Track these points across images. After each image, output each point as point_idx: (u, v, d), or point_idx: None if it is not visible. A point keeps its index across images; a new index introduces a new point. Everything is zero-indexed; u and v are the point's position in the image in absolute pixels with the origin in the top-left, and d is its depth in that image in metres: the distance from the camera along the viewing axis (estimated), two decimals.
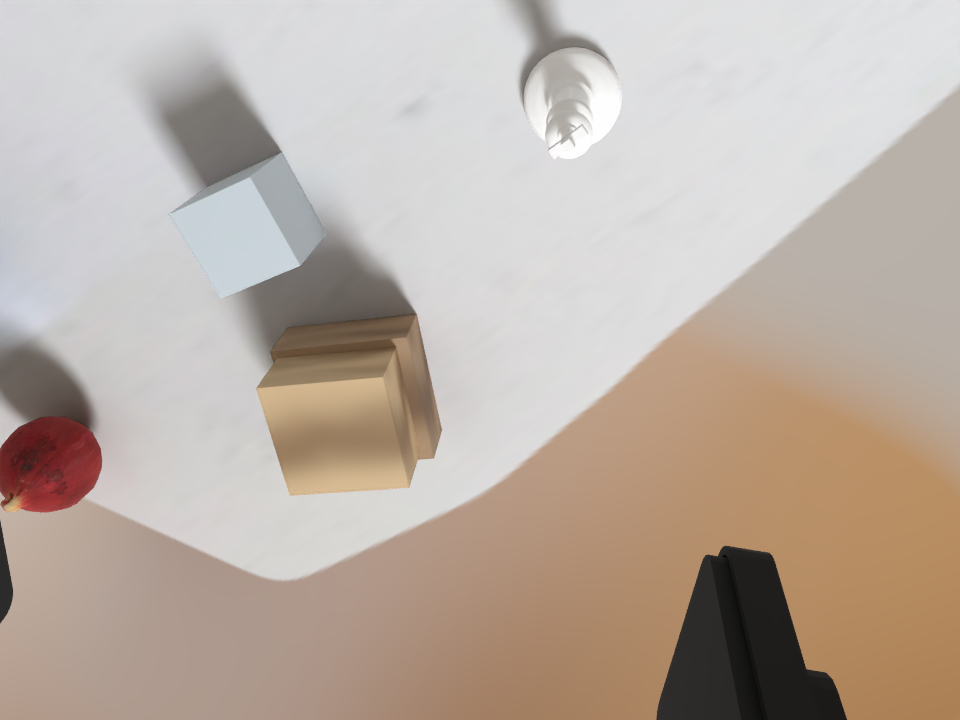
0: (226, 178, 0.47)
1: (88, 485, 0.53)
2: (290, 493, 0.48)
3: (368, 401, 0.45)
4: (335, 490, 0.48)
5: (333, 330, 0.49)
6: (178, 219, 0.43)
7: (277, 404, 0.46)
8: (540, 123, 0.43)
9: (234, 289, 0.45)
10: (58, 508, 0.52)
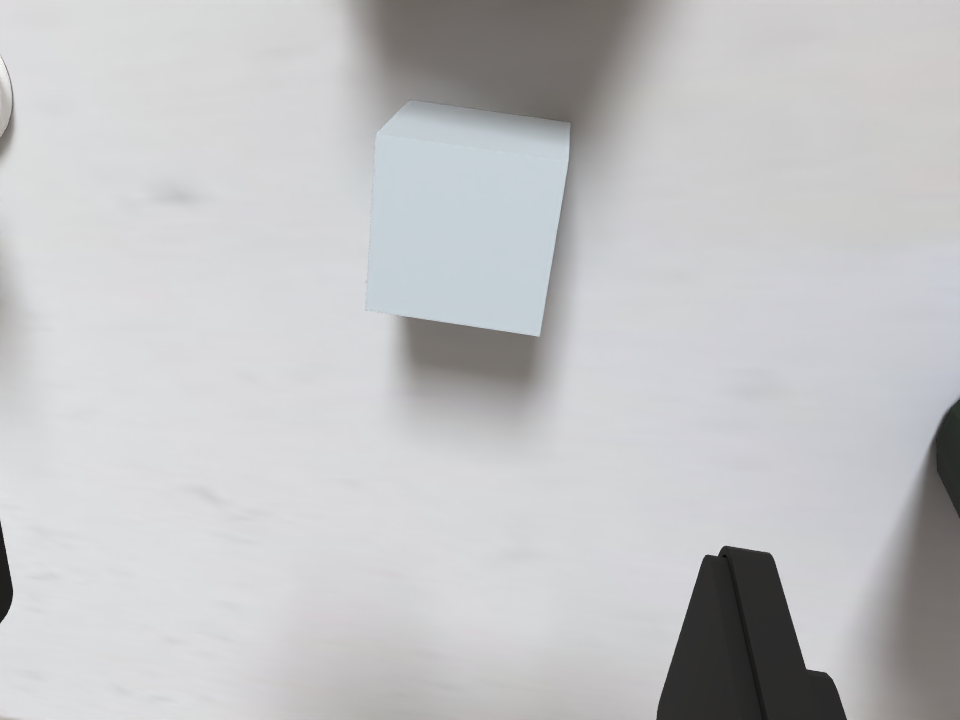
0: None
1: None
2: None
3: None
4: None
5: None
6: (529, 321, 0.24)
7: None
8: None
9: (528, 162, 0.22)
10: None
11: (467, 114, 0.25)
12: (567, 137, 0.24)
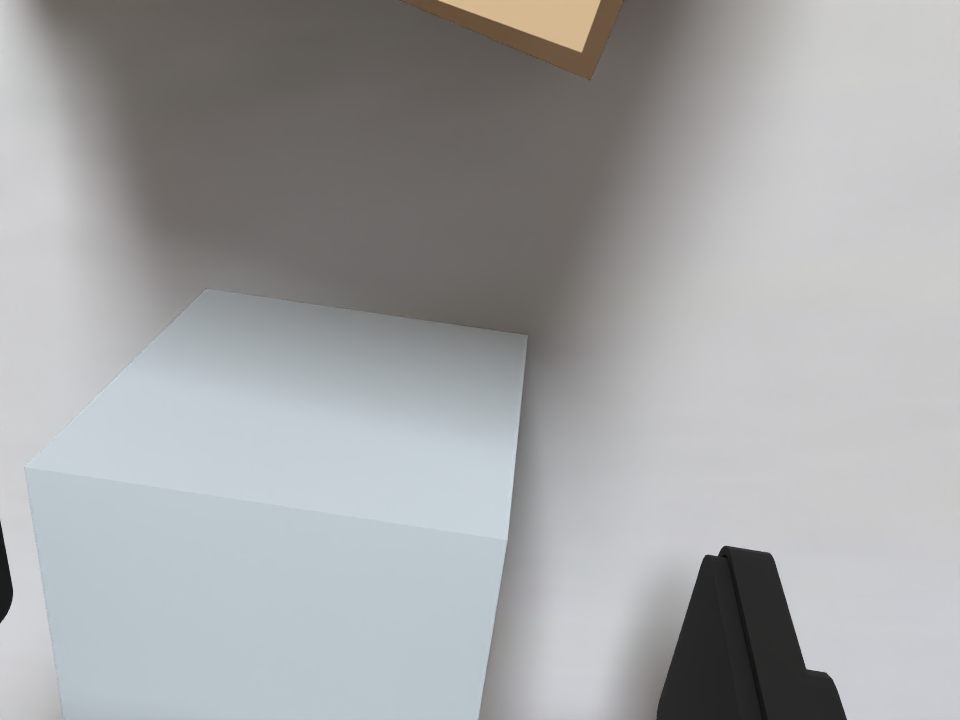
0: None
1: None
2: None
3: None
4: None
5: None
6: None
7: None
8: None
9: (407, 539, 0.09)
10: None
11: (312, 332, 0.12)
12: (516, 404, 0.11)
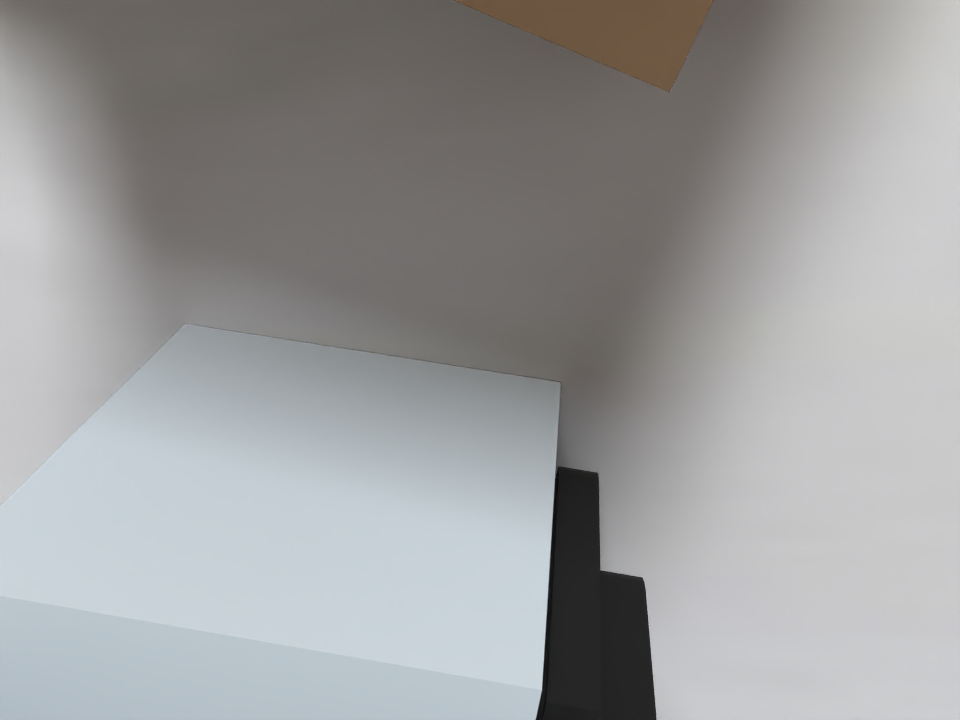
0: None
1: None
2: None
3: None
4: None
5: None
6: None
7: None
8: None
9: (411, 684, 0.07)
10: None
11: (304, 383, 0.10)
12: (548, 481, 0.09)
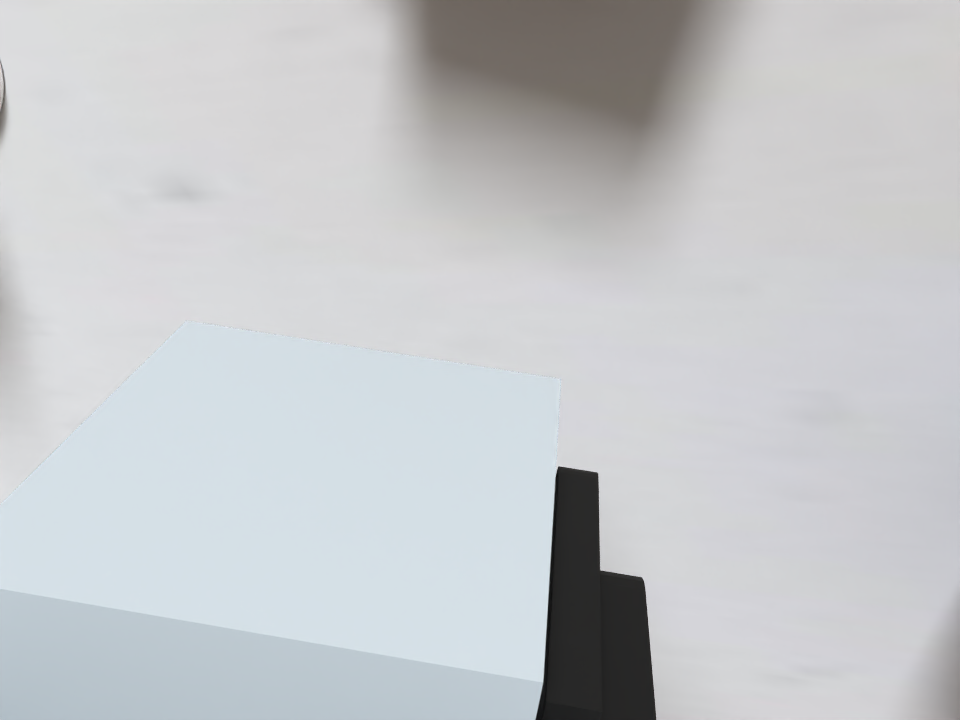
0: None
1: None
2: None
3: None
4: None
5: None
6: None
7: None
8: None
9: (413, 677, 0.07)
10: None
11: (305, 379, 0.10)
12: (549, 476, 0.09)
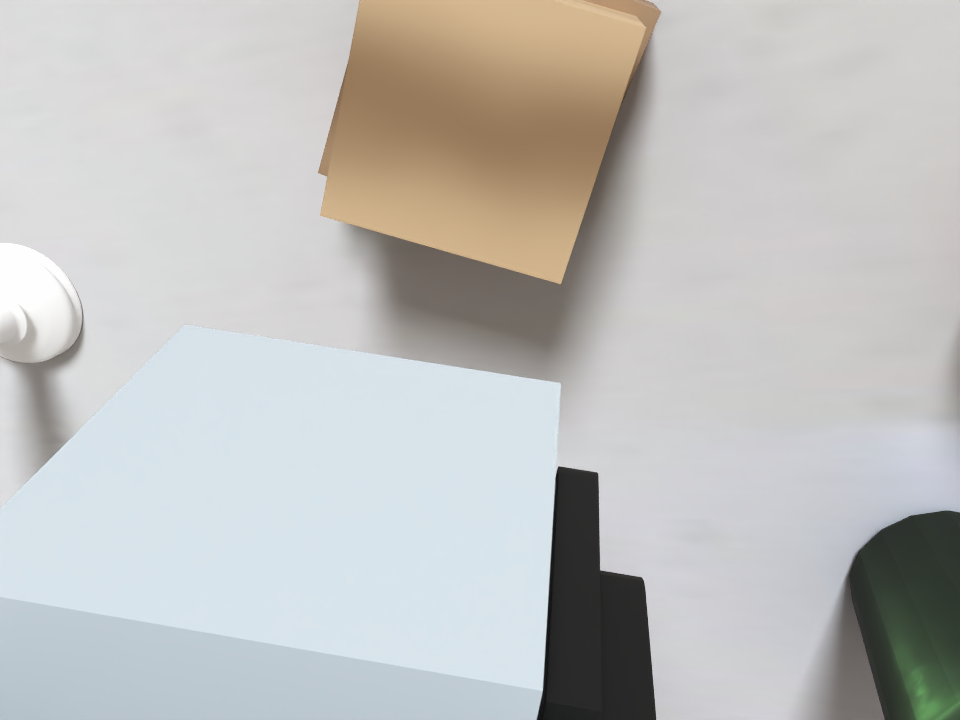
0: None
1: None
2: (641, 32, 0.21)
3: (367, 180, 0.23)
4: (536, 0, 0.21)
5: None
6: None
7: (541, 240, 0.23)
8: (52, 310, 0.33)
9: (413, 685, 0.07)
10: None
11: (304, 383, 0.10)
12: (548, 482, 0.09)
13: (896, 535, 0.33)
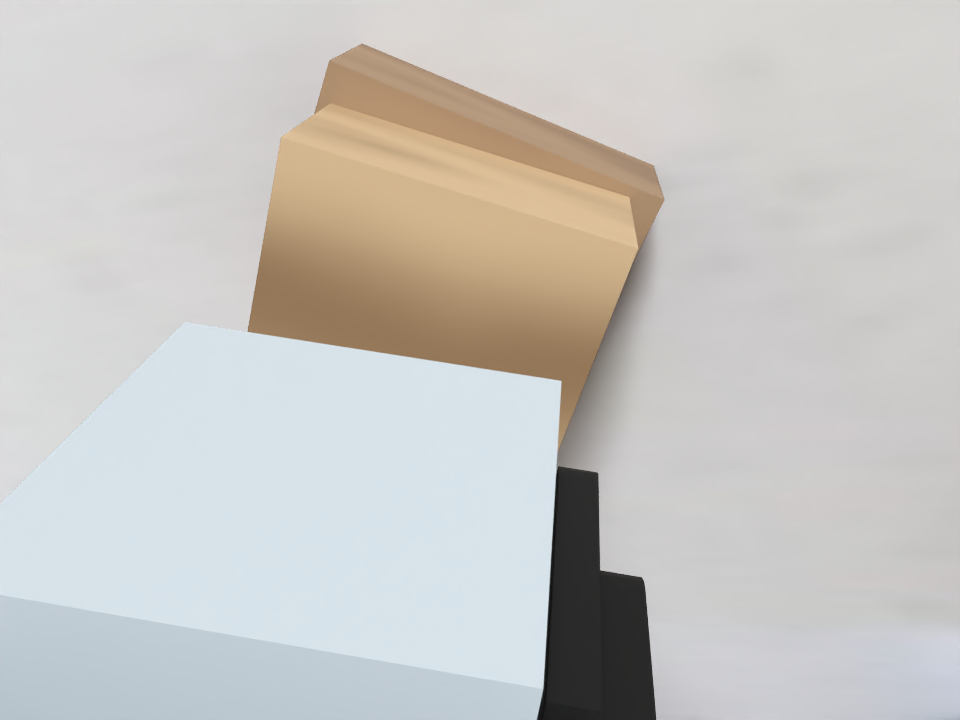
0: None
1: None
2: (631, 253, 0.16)
3: None
4: (497, 210, 0.16)
5: None
6: None
7: None
8: None
9: (412, 683, 0.07)
10: None
11: (304, 381, 0.10)
12: (549, 480, 0.09)
13: None
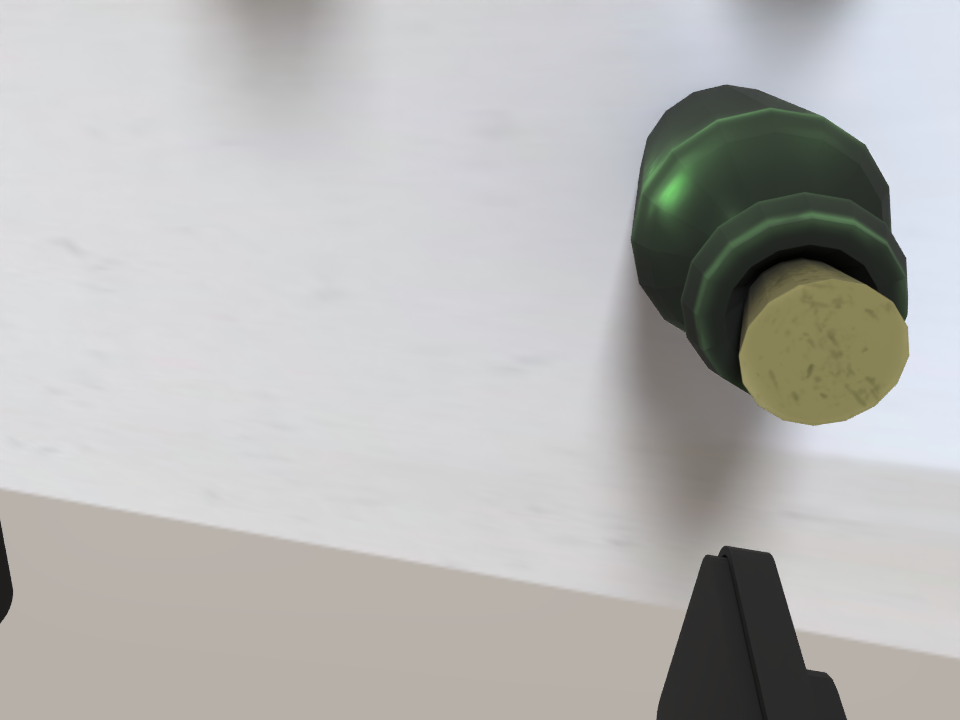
0: None
1: None
2: None
3: None
4: None
5: None
6: None
7: None
8: None
9: None
10: None
11: None
12: None
13: (675, 107, 0.34)
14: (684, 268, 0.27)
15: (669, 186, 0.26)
